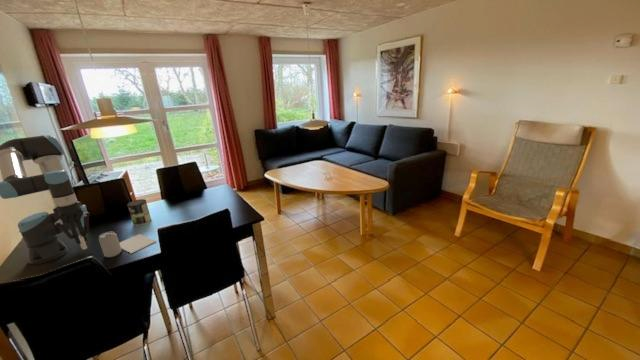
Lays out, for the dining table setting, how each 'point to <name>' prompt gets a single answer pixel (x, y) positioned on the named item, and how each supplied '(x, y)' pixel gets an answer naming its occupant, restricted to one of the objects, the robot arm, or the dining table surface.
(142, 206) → the coffee can
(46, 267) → the dining table surface
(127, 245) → the mat
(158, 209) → the dining table surface
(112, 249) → the can
